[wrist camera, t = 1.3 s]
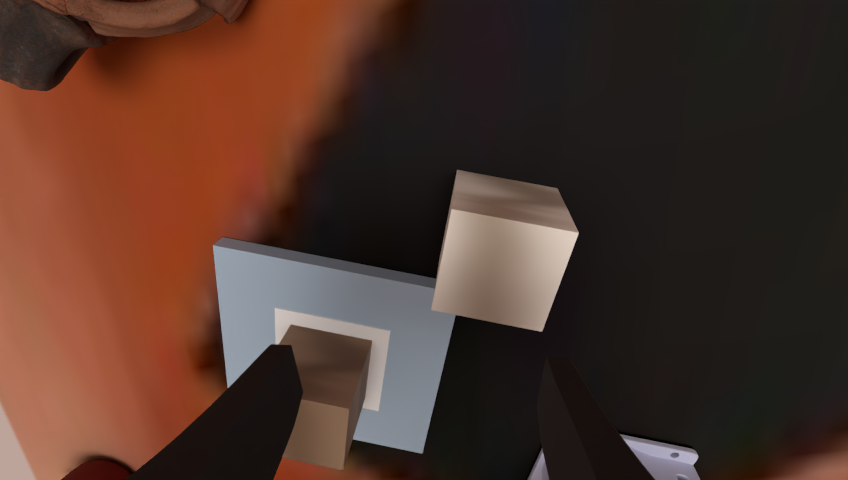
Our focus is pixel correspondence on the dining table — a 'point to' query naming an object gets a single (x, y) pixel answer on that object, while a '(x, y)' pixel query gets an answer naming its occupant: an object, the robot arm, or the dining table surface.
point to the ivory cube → (503, 251)
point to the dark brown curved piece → (87, 31)
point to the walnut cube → (327, 394)
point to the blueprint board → (340, 327)
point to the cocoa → (99, 471)
